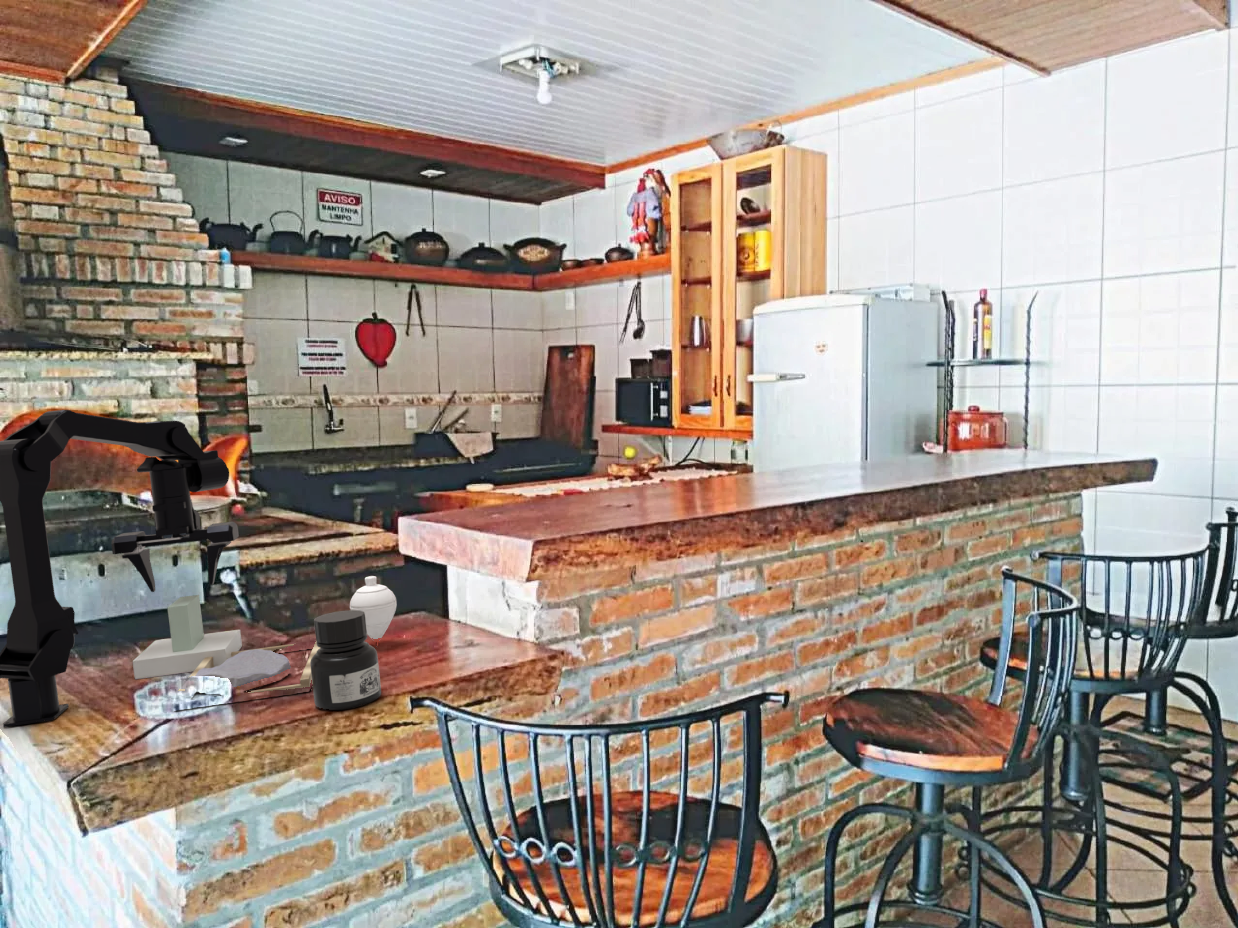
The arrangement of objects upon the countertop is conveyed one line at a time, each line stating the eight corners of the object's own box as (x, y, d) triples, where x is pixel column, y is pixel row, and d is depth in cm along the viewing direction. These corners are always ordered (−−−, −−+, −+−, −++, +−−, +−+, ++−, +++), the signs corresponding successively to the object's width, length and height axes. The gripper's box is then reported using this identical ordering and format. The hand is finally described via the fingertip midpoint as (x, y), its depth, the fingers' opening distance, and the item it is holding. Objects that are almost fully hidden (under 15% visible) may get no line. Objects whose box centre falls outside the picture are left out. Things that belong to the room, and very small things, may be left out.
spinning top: (402, 648, 157) (395, 577, 156) (355, 655, 155) (347, 583, 154) (398, 638, 164) (391, 570, 163) (353, 644, 162) (346, 576, 161)
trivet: (227, 666, 154) (225, 648, 154) (134, 679, 151) (132, 661, 151) (242, 645, 168) (240, 629, 168) (157, 657, 165) (155, 640, 165)
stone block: (298, 685, 147) (251, 669, 151) (299, 656, 146) (251, 641, 150) (239, 713, 137) (189, 696, 141) (239, 683, 136) (189, 666, 140)
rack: (310, 692, 136) (308, 678, 136) (173, 711, 132) (171, 697, 132) (326, 646, 162) (324, 635, 162) (212, 661, 158) (211, 649, 158)
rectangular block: (192, 649, 155) (187, 605, 155) (172, 652, 155) (167, 607, 154) (204, 636, 164) (199, 594, 164) (185, 639, 163) (180, 596, 163)
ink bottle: (343, 716, 124) (333, 626, 123) (298, 709, 129) (289, 622, 128) (397, 693, 132) (388, 609, 131) (353, 687, 137) (344, 606, 136)
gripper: (238, 486, 167) (249, 572, 169) (125, 497, 163) (136, 586, 165) (227, 492, 156) (238, 584, 158) (105, 504, 153) (117, 598, 154)
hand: (182, 588), depth 159 cm, fingers open, 9 cm apart
